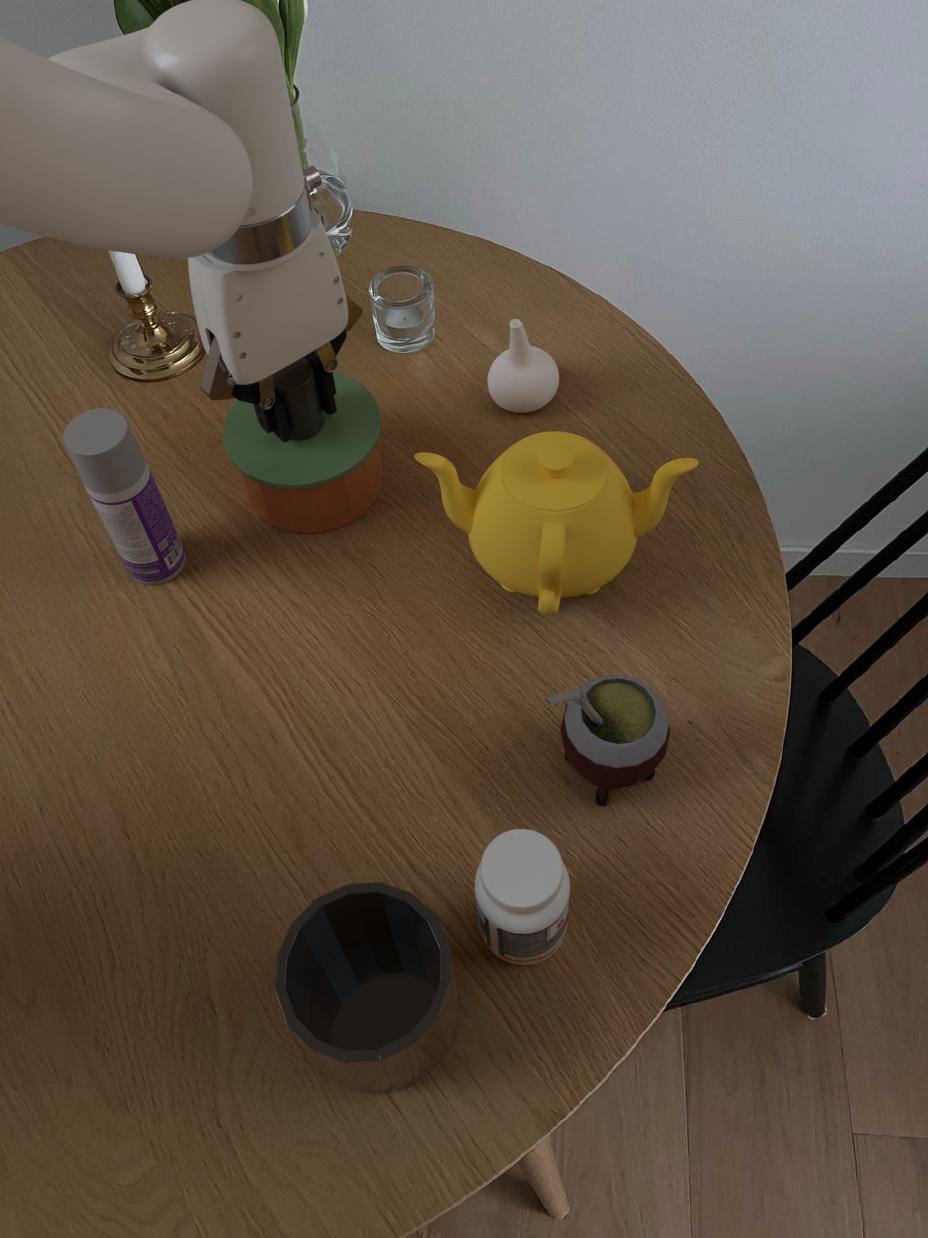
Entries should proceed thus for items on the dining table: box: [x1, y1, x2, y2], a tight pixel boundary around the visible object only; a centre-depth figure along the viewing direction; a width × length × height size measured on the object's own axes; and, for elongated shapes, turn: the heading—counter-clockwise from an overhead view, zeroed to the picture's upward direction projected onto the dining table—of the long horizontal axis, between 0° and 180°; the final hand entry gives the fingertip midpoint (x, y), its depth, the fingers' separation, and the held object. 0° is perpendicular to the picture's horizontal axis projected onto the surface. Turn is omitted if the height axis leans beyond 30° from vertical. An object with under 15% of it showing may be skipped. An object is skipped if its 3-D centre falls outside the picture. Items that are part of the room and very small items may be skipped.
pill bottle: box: [474, 828, 572, 966], centre depth 64 cm, size 6×6×10 cm
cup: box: [274, 881, 460, 1094], centre depth 62 cm, size 10×10×9 cm
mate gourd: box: [544, 674, 671, 807], centre depth 67 cm, size 8×8×15 cm
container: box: [62, 407, 187, 586], centre depth 79 cm, size 5×5×15 cm
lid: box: [222, 358, 383, 489], centre depth 82 cm, size 13×13×7 cm
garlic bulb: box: [487, 318, 560, 414], centre depth 91 cm, size 6×6×8 cm
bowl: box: [237, 439, 384, 534], centre depth 87 cm, size 12×12×6 cm
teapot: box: [414, 430, 700, 616], centre depth 79 cm, size 20×15×12 cm
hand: (299, 416), depth 83 cm, fingers closed on lid, 3 cm apart
